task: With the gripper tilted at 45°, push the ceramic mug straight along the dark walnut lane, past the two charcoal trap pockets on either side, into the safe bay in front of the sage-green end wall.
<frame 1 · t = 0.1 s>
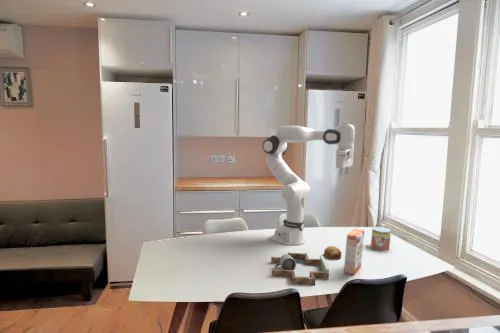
hand: (344, 174, 208), 48 cm above the table, tool pointing down, fingers open, 8 cm apart
sage end wall: (311, 270, 187), on the table
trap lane: (299, 270, 188), on the table
cracker box: (352, 270, 191), on the table
canned food: (379, 247, 227), on the table
bread roll: (332, 256, 209), on the table
ceramic mug: (284, 269, 188), on the table
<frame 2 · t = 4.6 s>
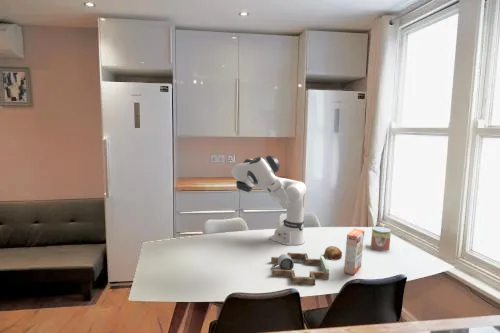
hand: (285, 207, 183), 33 cm above the table, tool tilted 35°, fingers closed
ceramic mug: (282, 269, 188), on the table
everything else where it was.
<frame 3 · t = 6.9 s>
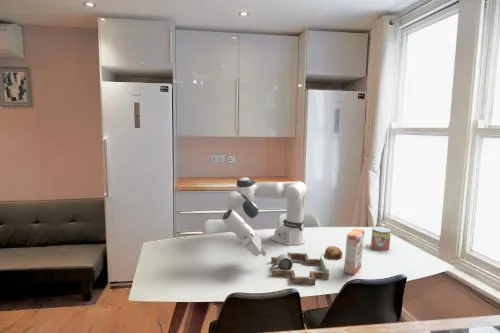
hand: (265, 254, 187), 8 cm above the table, tool tilted 45°, fingers closed
nothing on the table moved.
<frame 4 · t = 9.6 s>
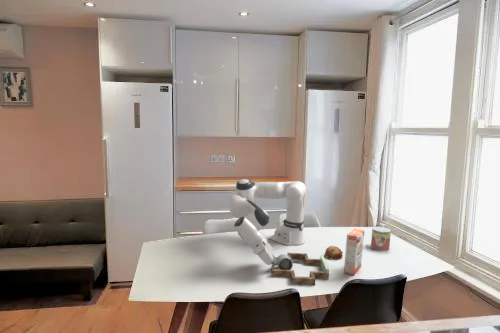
hand: (276, 262, 186), 4 cm above the table, tool tilted 45°, fingers closed
ceramic mug: (281, 269, 187), on the table, touching gripper
everything else where it was.
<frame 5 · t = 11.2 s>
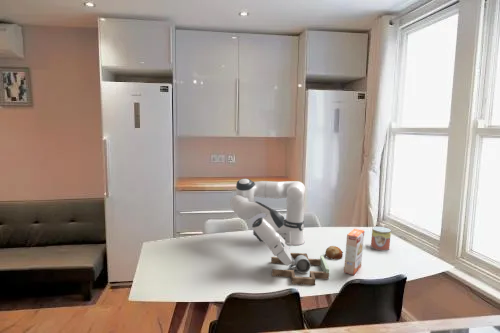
hand: (294, 263, 186), 4 cm above the table, tool tilted 45°, fingers closed, pressing on ceramic mug
ceramic mug: (299, 270, 187), on the table, touching gripper
everything else where it was.
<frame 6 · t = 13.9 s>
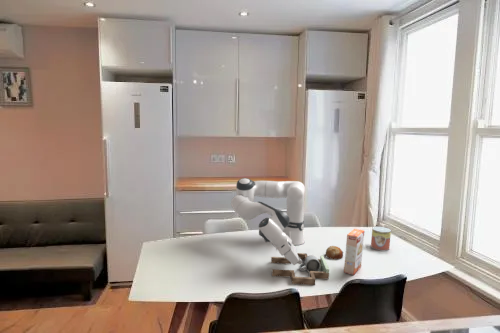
hand: (301, 262, 187), 4 cm above the table, tool tilted 45°, fingers closed
ceramic mug: (309, 270, 188), on the table
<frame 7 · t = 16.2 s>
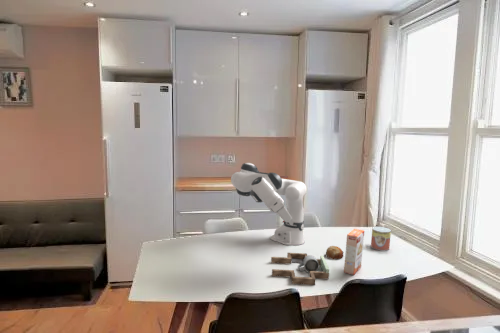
hand: (291, 224, 185), 25 cm above the table, tool tilted 40°, fingers closed
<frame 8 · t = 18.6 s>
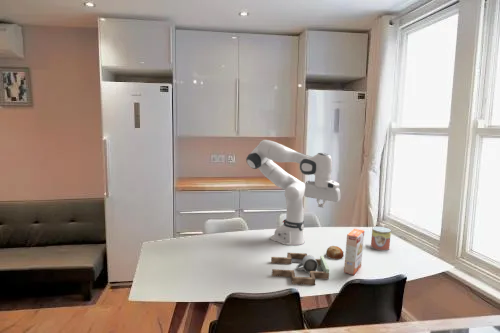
hand: (321, 207, 197), 31 cm above the table, tool pointing down, fingers closed
at the end: ceramic mug 2.4 cm from the sage end wall (horizontally); ceramic mug tilted 0°; ceramic mug moved 11.7 cm from its start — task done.
